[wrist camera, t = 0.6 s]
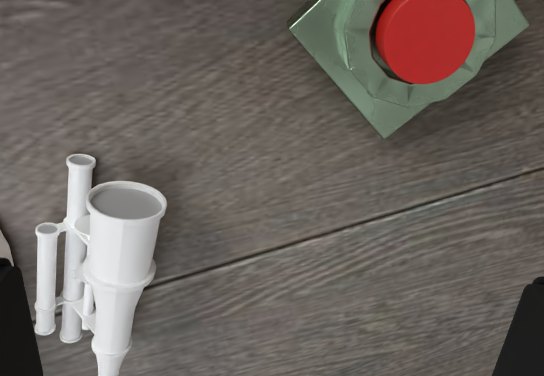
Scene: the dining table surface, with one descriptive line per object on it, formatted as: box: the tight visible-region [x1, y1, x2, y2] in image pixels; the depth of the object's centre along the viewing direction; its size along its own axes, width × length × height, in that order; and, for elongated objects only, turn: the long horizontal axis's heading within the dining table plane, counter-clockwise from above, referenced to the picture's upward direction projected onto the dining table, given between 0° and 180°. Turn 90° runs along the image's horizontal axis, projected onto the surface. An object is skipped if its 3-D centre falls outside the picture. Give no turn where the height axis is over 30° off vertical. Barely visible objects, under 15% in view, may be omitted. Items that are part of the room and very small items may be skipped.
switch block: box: [287, 0, 530, 139], centre depth 24 cm, size 9×8×4 cm
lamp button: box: [375, 0, 475, 84], centre depth 22 cm, size 4×4×2 cm
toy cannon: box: [35, 154, 167, 376], centre depth 30 cm, size 8×14×5 cm
